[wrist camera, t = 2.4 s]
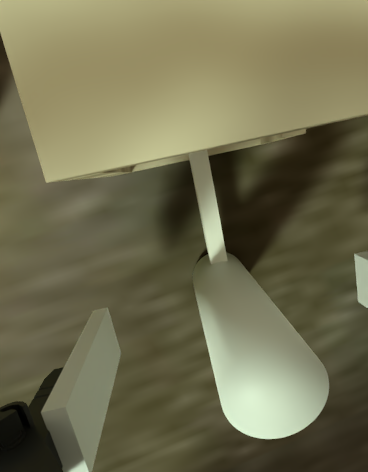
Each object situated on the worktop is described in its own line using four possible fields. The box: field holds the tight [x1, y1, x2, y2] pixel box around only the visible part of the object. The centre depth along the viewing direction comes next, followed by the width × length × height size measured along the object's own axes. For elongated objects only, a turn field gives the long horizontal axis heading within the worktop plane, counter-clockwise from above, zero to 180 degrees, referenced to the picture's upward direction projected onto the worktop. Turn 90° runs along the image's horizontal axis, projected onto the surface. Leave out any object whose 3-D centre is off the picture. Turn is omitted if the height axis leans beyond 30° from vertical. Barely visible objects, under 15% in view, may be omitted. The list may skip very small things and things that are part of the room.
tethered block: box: [188, 150, 329, 439], centre depth 13 cm, size 21×5×11 cm, turn 12°
